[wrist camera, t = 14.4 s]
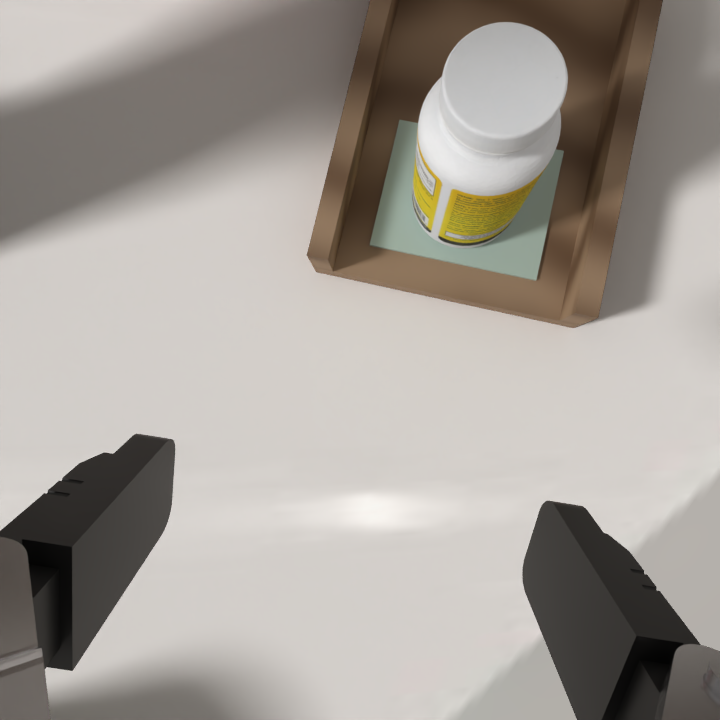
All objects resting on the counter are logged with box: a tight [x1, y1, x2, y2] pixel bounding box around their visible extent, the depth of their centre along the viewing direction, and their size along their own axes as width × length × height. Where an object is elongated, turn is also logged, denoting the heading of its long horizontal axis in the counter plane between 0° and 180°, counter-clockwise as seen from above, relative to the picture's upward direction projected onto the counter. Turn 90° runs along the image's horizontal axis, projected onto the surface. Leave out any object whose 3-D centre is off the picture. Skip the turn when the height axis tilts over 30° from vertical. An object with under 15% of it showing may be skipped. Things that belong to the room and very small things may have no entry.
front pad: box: [370, 120, 564, 281], centre depth 29 cm, size 8×10×1 cm
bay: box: [307, 0, 663, 328], centre depth 28 cm, size 22×16×6 cm
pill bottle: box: [412, 22, 568, 249], centre depth 24 cm, size 6×6×11 cm
